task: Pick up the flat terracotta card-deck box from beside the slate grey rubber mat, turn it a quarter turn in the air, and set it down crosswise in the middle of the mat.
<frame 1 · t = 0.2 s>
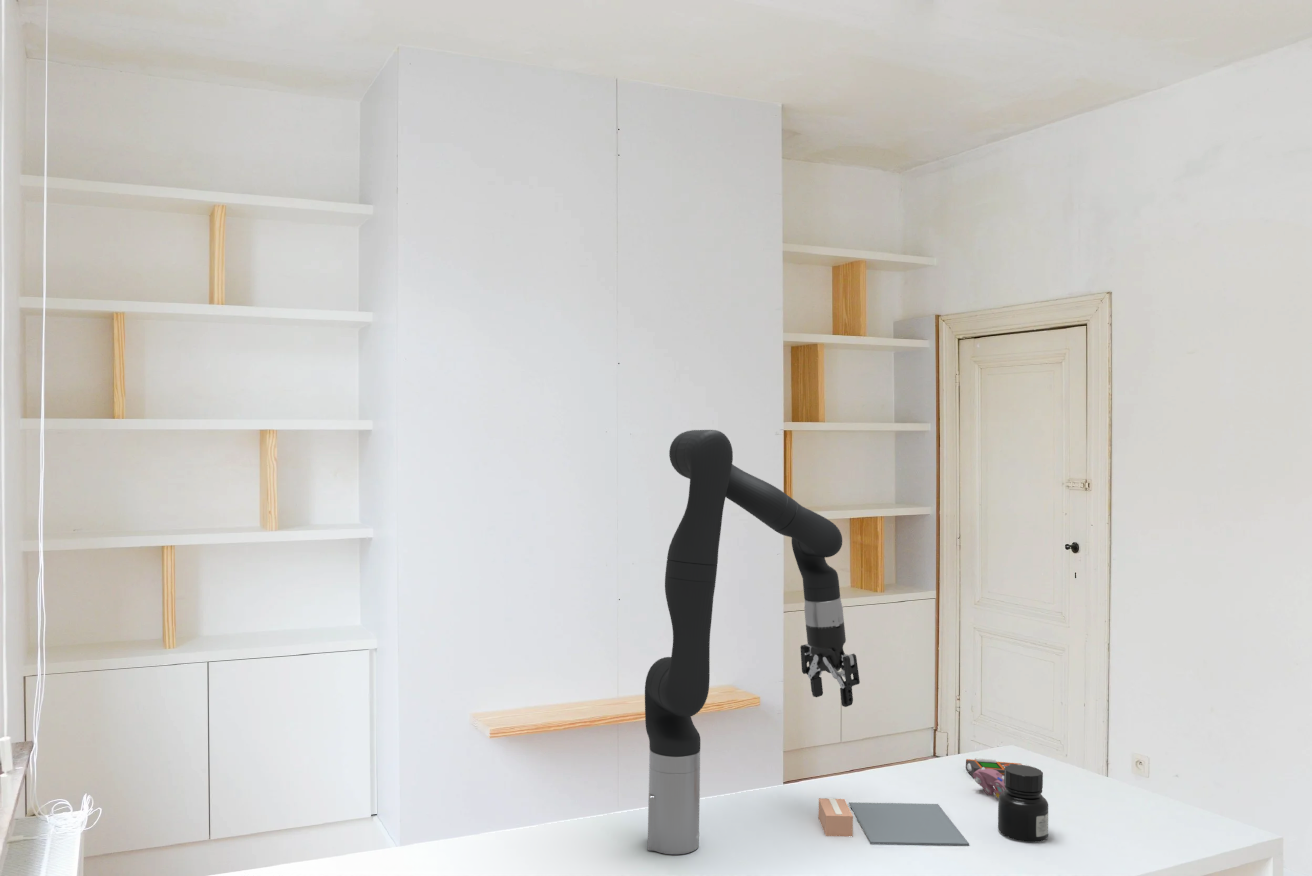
hand: (832, 700, 193), 22 cm above the table, tool pointing down, fingers open, 8 cm apart
mat: (905, 823, 187), on the table
video game controller: (997, 798, 203), on the table
electronic device: (1002, 777, 217), on the table
deck box: (835, 828, 185), on the table
ink bottle: (1022, 835, 183), on the table
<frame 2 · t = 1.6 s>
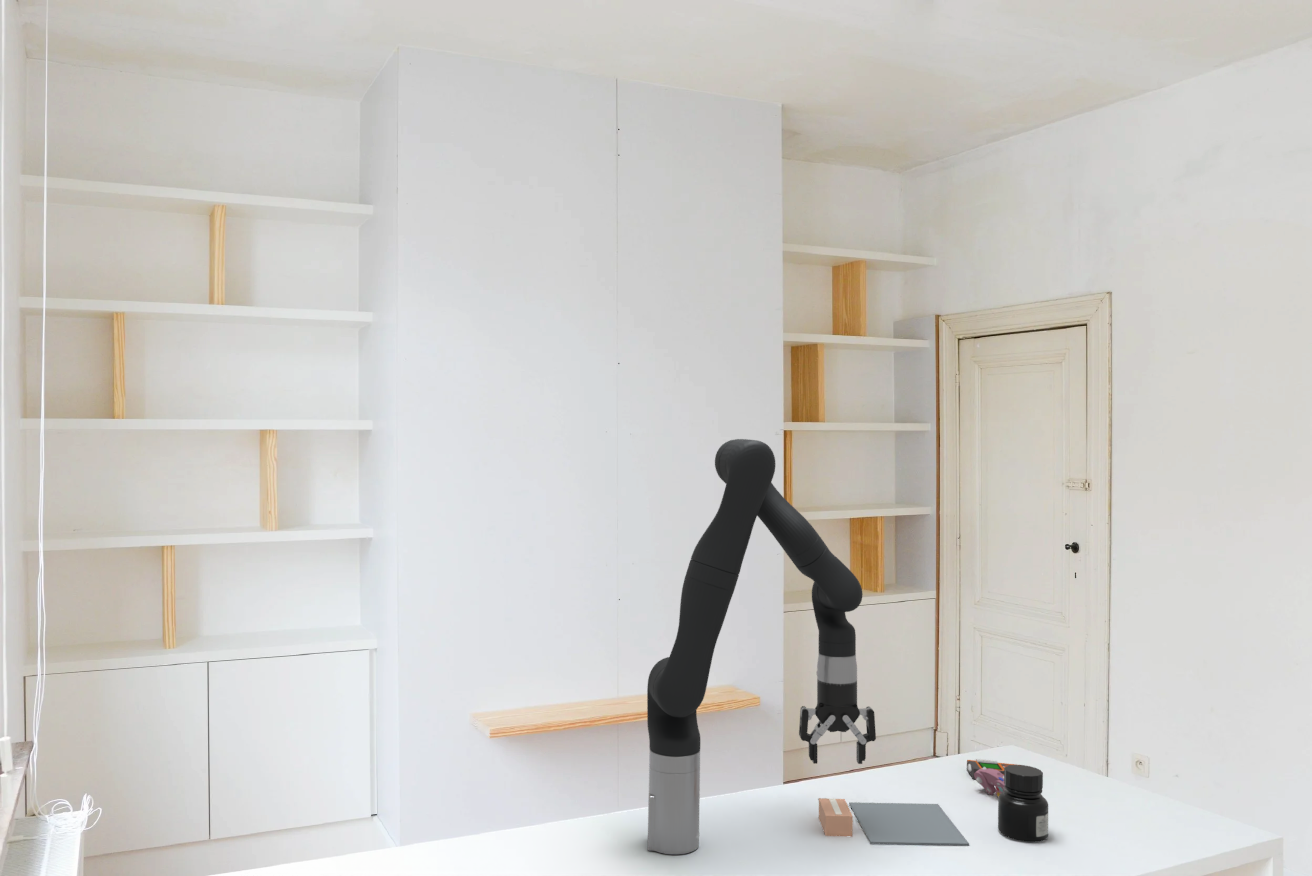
hand: (837, 762, 185), 12 cm above the table, tool pointing down, fingers open, 8 cm apart
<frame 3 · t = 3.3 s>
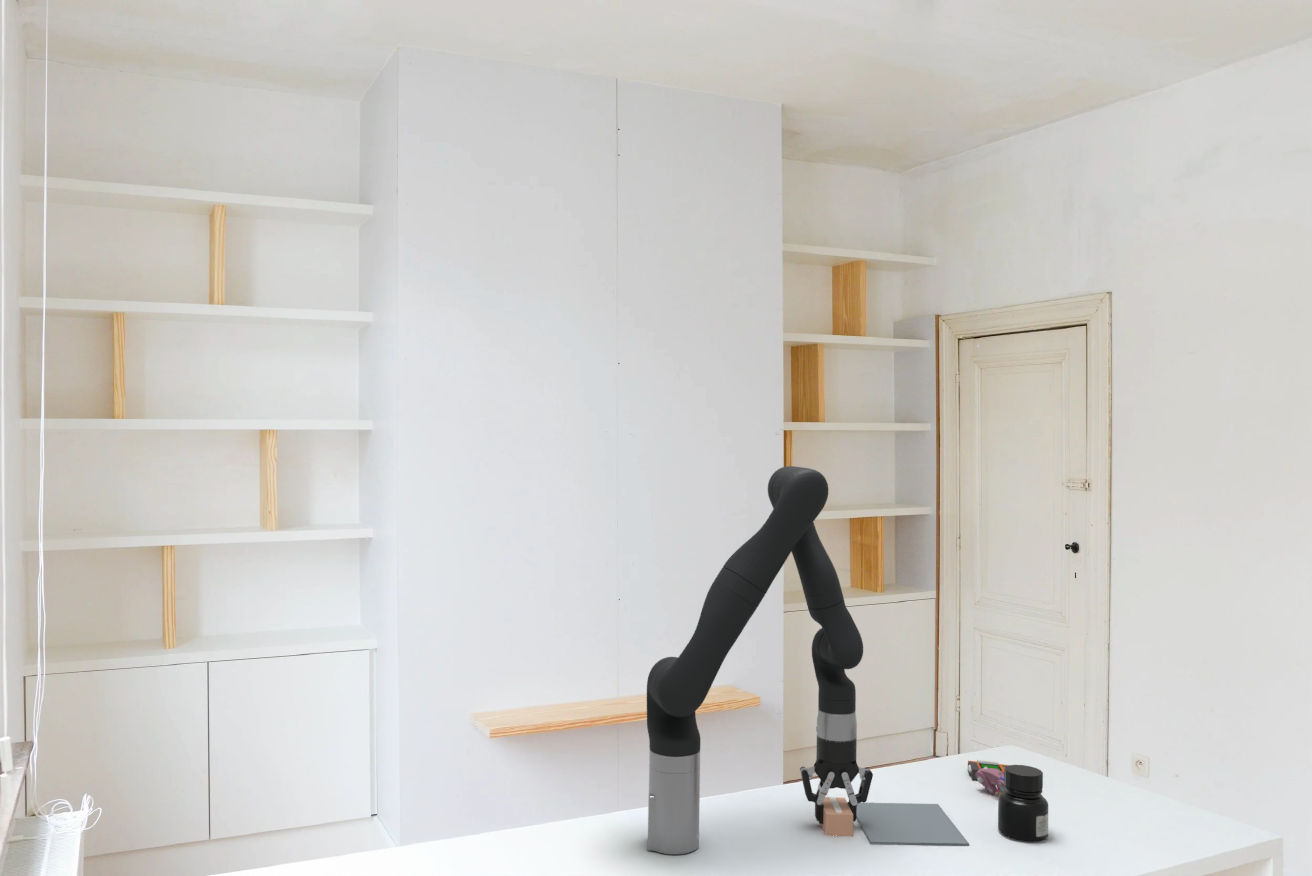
hand: (835, 822, 185), 1 cm above the table, tool pointing down, fingers closed on deck box, 5 cm apart
electronic device: (1003, 780, 215), on the table
deck box: (835, 826, 185), on the table, touching gripper
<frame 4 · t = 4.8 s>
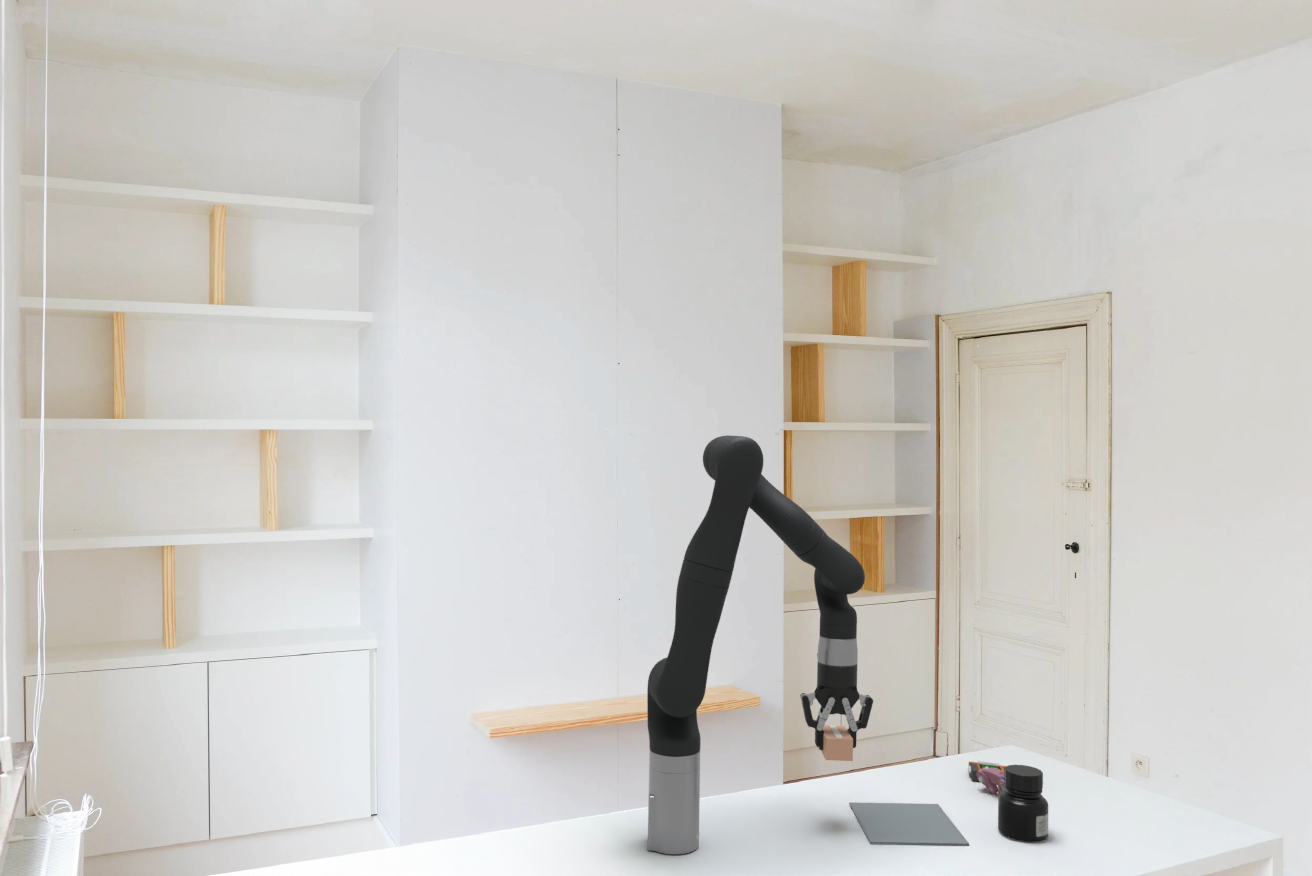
hand: (835, 748, 185), 15 cm above the table, tool pointing down, fingers closed on deck box, 5 cm apart
deck box: (835, 753, 186), point 14 cm above the table, touching gripper
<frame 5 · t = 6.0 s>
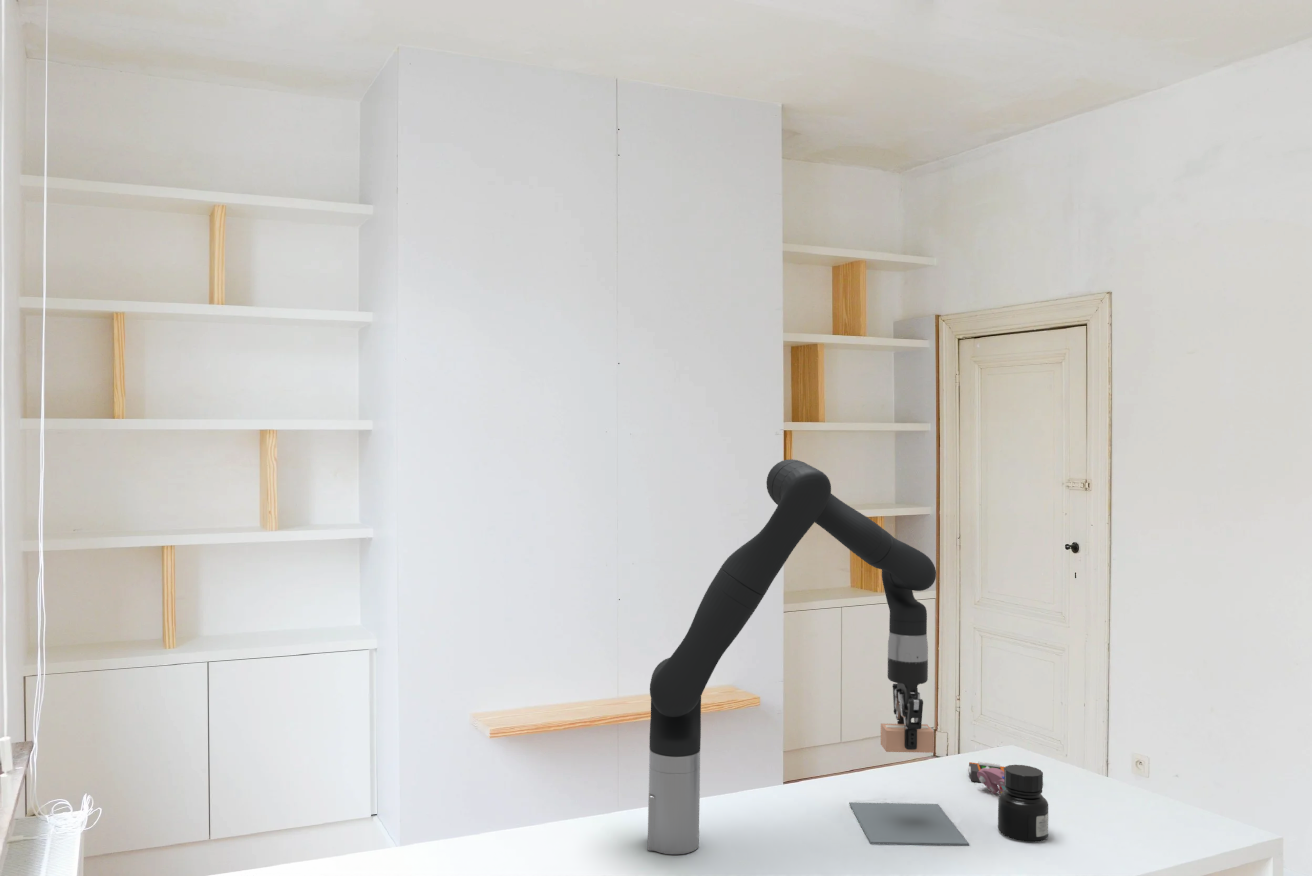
hand: (906, 744, 187), 15 cm above the table, tool pointing down, fingers closed on deck box, 5 cm apart
deck box: (906, 748, 187), point 15 cm above the table, touching gripper
when the fingers open (2 cm above the table, at t = 8.8 s): deck box drops 1 cm, resting on mat.
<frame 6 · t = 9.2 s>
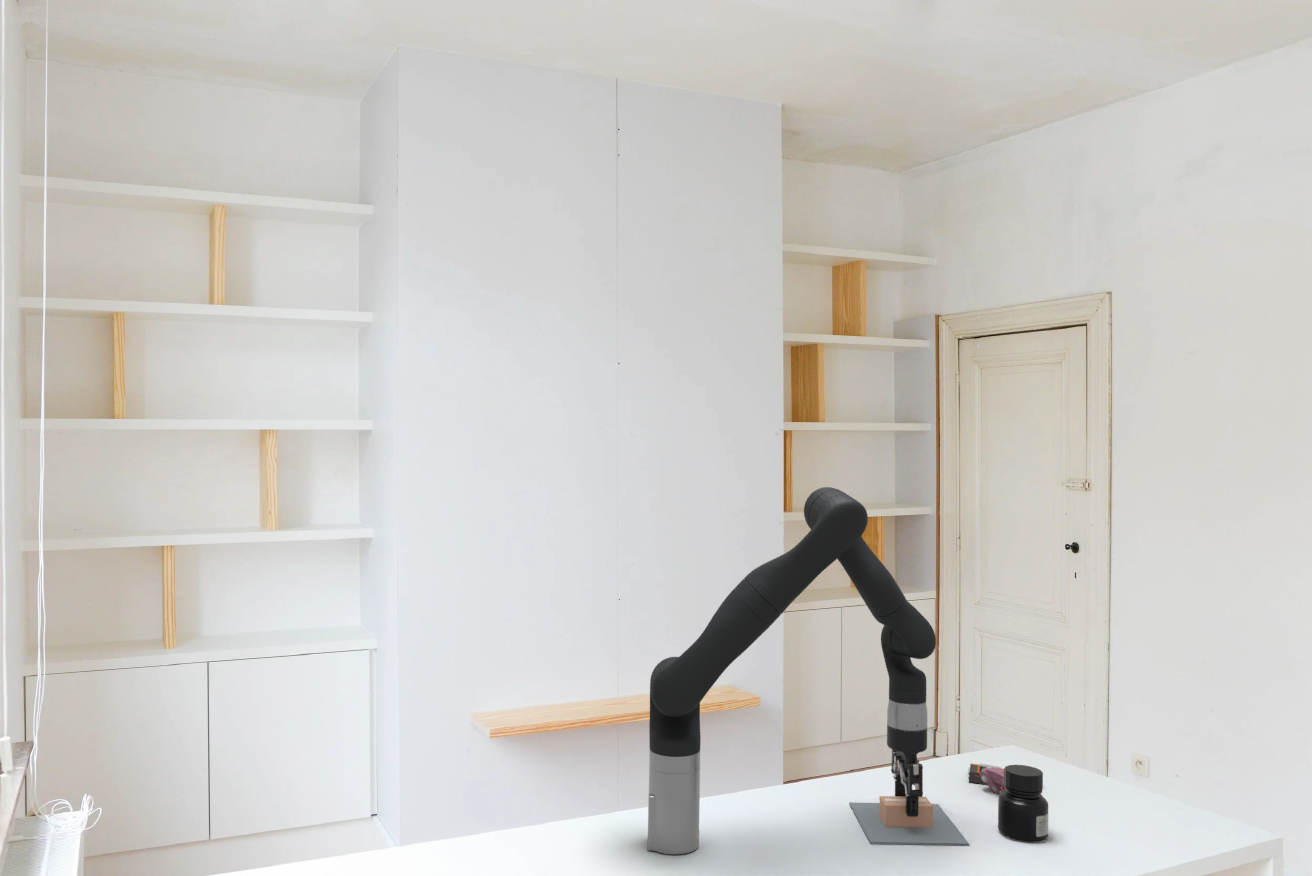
hand: (906, 807, 187), 3 cm above the table, tool pointing down, fingers open, 8 cm apart
electronic device: (1003, 785, 212), on the table
deck box: (905, 821, 187), resting on mat
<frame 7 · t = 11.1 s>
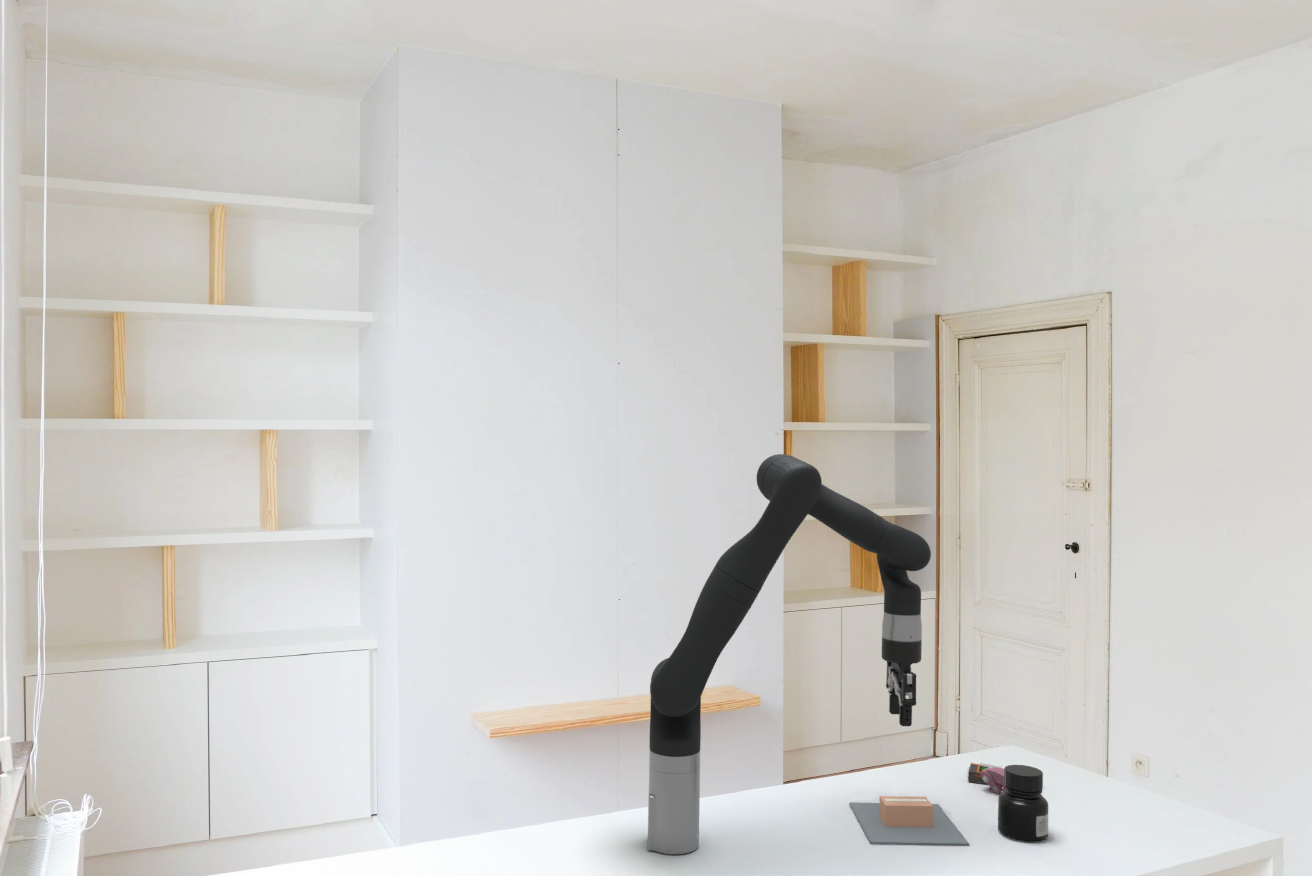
hand: (900, 719, 189), 20 cm above the table, tool pointing down, fingers open, 8 cm apart
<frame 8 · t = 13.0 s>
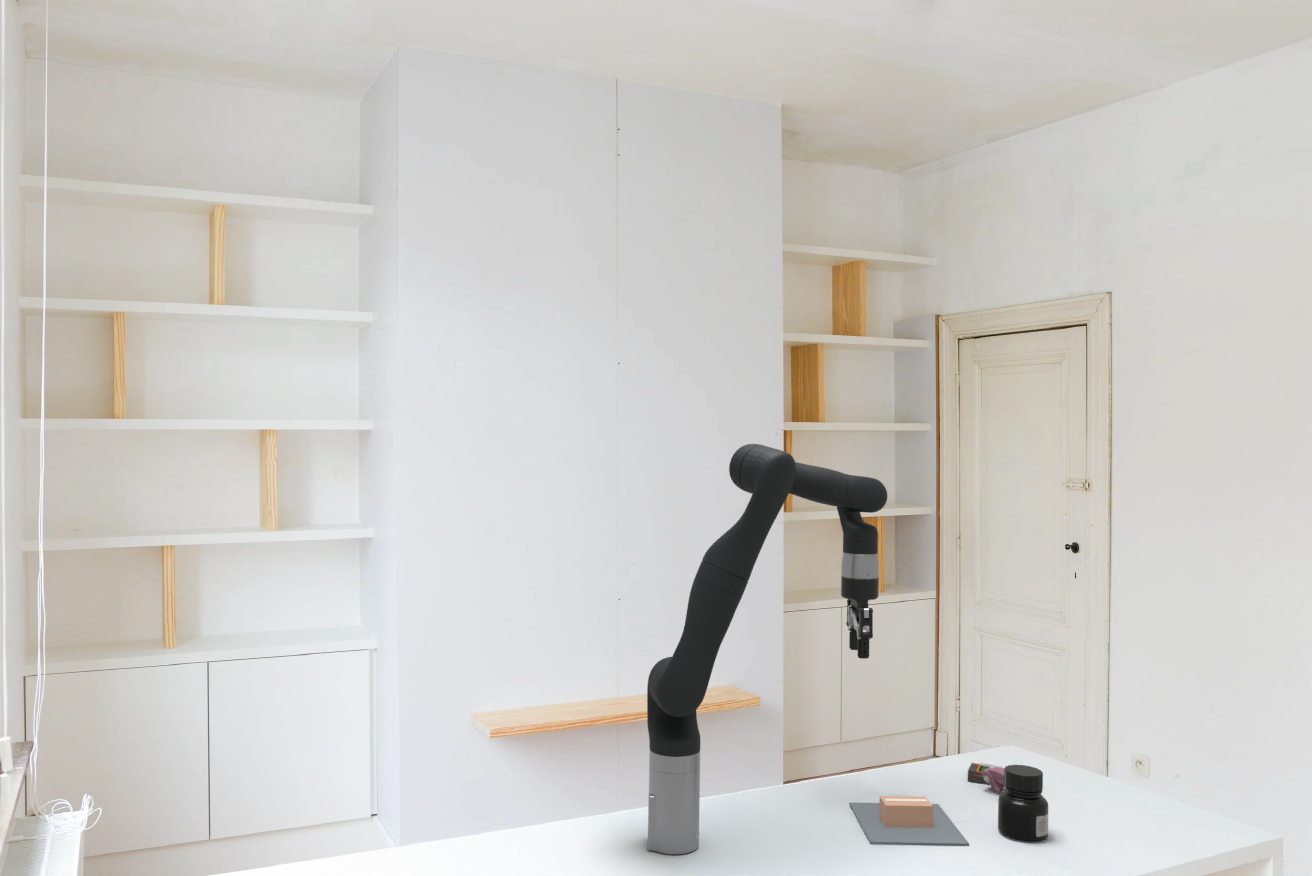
hand: (858, 653, 200), 30 cm above the table, tool pointing down, fingers open, 8 cm apart
at the end: deck box inside the target area on the mat (0.1 cm from its centre), point 0.4 cm above the mat's base; the gripper is holding nothing; deck box tilted 0° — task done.
